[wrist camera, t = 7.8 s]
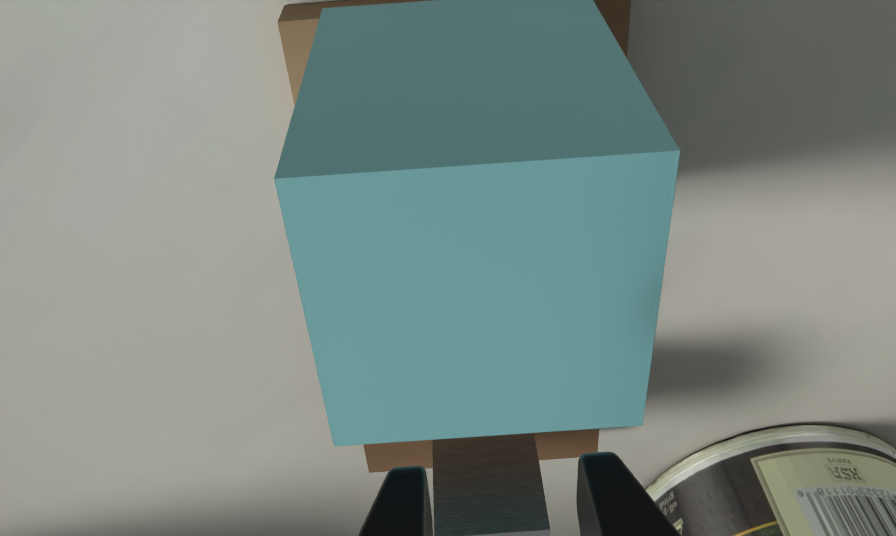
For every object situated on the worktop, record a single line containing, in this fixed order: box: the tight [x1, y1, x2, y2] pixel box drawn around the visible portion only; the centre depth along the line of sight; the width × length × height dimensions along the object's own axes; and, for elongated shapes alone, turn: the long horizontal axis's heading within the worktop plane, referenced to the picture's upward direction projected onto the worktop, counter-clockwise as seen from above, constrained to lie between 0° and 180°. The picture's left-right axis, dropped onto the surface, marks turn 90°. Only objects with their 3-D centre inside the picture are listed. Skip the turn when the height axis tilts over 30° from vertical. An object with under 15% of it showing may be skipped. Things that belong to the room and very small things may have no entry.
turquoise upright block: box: [274, 0, 680, 446], centre depth 14 cm, size 5×5×7 cm
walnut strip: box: [278, 0, 631, 473], centre depth 20 cm, size 14×7×1 cm, turn 4°
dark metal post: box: [432, 433, 550, 536], centre depth 20 cm, size 3×3×5 cm
